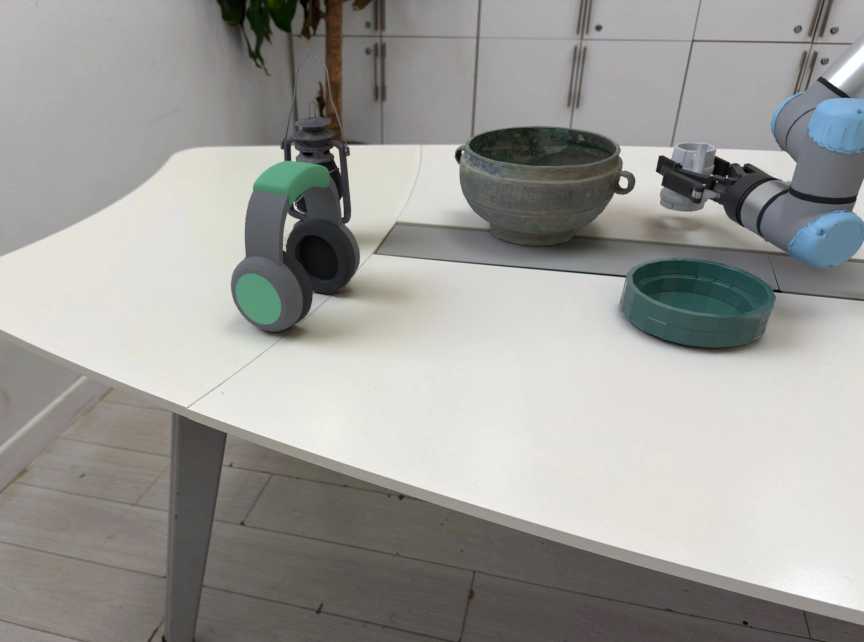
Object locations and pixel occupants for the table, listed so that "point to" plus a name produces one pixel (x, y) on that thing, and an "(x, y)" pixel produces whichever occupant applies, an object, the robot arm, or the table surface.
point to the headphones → (292, 247)
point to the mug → (691, 159)
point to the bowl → (540, 180)
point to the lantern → (318, 153)
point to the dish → (697, 302)
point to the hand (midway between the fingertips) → (681, 161)
